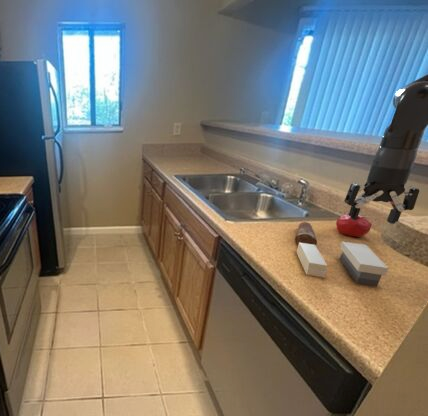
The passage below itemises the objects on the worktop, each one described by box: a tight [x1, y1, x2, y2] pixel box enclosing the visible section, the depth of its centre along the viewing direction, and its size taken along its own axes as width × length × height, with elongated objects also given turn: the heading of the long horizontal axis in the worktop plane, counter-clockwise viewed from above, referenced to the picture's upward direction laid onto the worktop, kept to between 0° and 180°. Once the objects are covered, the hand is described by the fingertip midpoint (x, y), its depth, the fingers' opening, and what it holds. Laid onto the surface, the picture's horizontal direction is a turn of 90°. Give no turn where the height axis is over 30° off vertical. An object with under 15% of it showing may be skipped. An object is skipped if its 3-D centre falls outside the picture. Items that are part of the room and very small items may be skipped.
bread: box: [294, 221, 318, 246], centre depth 103 cm, size 6×19×6 cm, turn 143°
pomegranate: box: [335, 212, 372, 238], centre depth 105 cm, size 10×10×9 cm
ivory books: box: [296, 243, 328, 279], centre depth 87 cm, size 4×14×4 cm, turn 157°
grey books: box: [339, 251, 383, 288], centre depth 83 cm, size 4×14×4 cm, turn 157°
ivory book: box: [339, 241, 389, 276], centre depth 81 cm, size 6×14×2 cm, turn 157°
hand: (371, 220), depth 78 cm, fingers open, 8 cm apart
